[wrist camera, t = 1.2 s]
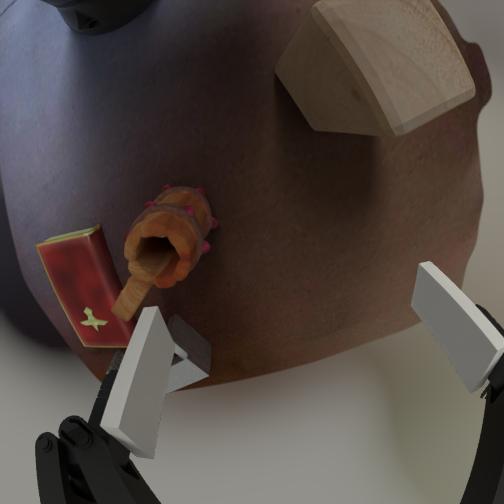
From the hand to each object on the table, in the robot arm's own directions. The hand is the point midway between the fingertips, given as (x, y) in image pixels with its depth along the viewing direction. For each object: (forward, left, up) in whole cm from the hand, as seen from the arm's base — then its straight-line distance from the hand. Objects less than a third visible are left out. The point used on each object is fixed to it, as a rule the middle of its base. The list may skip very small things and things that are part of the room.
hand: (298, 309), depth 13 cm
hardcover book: (-4, -31, -25) cm, 40 cm away
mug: (-3, -12, -24) cm, 27 cm away
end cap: (+12, -31, -24) cm, 41 cm away
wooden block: (-7, +15, -24) cm, 30 cm away
